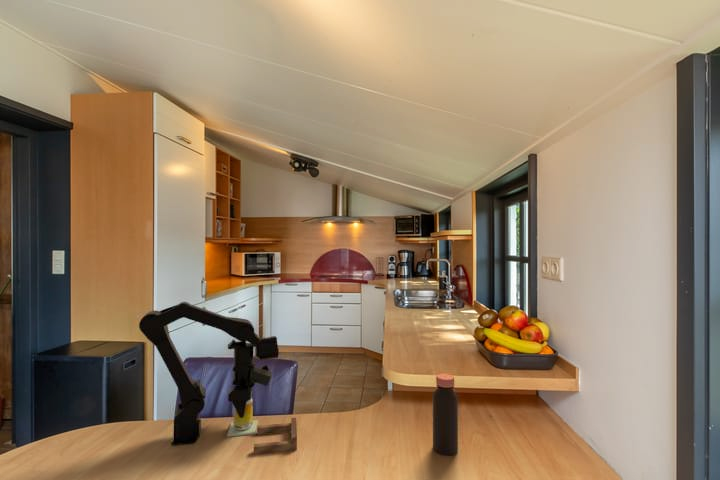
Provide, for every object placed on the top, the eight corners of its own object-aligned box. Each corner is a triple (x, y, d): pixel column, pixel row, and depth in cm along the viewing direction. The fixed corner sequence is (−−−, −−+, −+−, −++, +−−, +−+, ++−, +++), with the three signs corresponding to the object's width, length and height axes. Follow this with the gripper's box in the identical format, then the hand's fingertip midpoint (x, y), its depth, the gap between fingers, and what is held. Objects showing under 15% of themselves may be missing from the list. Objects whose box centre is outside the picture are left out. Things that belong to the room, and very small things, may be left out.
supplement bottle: (255, 427, 113) (255, 393, 113) (237, 432, 110) (237, 397, 110) (248, 420, 117) (248, 388, 118) (230, 426, 114) (231, 392, 114)
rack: (253, 454, 100) (253, 441, 100) (257, 432, 111) (257, 420, 111) (296, 450, 102) (296, 437, 102) (296, 428, 113) (296, 417, 114)
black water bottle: (428, 445, 104) (428, 374, 105) (447, 440, 107) (447, 371, 107) (442, 458, 98) (442, 382, 98) (463, 452, 101) (462, 378, 101)
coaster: (227, 436, 109) (227, 434, 109) (231, 423, 117) (231, 422, 117) (255, 434, 110) (255, 432, 110) (257, 421, 118) (257, 419, 118)
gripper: (268, 370, 106) (268, 424, 106) (271, 351, 124) (271, 398, 124) (228, 372, 104) (227, 428, 104) (237, 353, 122) (236, 400, 122)
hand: (243, 412), depth 113 cm, fingers open, 6 cm apart
